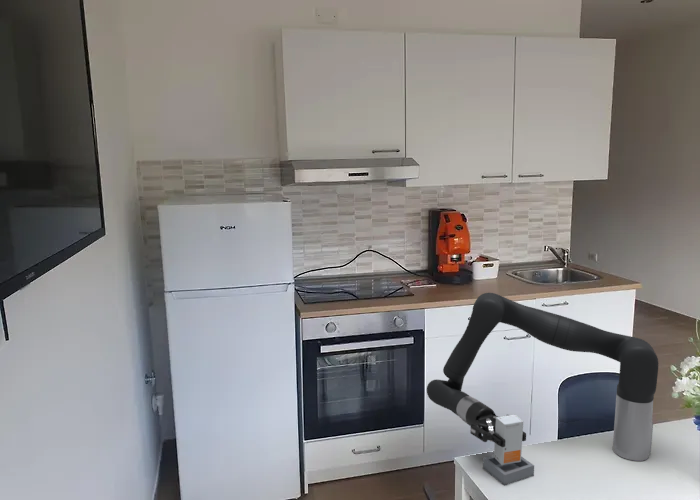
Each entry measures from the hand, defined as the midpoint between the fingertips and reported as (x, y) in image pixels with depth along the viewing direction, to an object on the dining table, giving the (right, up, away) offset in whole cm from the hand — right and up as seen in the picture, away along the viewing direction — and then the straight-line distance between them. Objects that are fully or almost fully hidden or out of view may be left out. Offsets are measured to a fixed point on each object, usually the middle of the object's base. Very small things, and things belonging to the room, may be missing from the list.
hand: (514, 440), depth 139 cm
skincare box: (-1, -7, +3) cm, 7 cm away
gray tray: (-1, -10, +4) cm, 11 cm away
